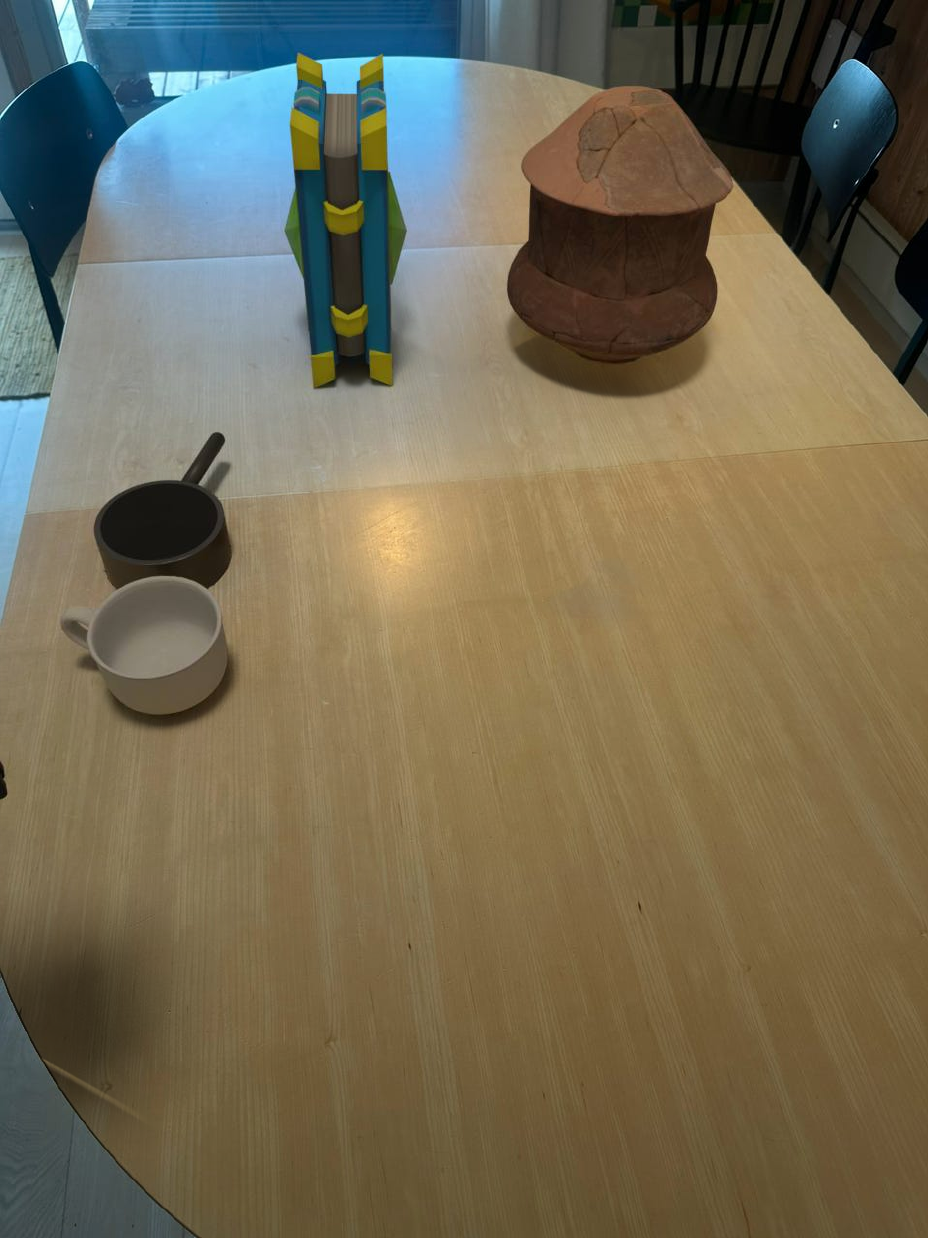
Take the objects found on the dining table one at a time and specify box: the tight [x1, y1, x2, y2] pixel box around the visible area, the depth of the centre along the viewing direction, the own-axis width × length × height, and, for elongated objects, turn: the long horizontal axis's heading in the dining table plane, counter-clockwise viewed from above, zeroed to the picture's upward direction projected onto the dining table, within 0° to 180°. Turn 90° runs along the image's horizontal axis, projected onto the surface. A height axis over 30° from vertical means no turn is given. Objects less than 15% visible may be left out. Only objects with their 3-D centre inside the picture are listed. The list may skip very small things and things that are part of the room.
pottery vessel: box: [506, 85, 734, 365], centre depth 113 cm, size 26×26×30 cm
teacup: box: [59, 576, 228, 715], centre depth 82 cm, size 14×11×8 cm
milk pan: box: [93, 431, 232, 590], centre depth 96 cm, size 12×21×5 cm, turn 168°
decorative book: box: [283, 52, 408, 389], centre depth 112 cm, size 14×23×30 cm, turn 4°
